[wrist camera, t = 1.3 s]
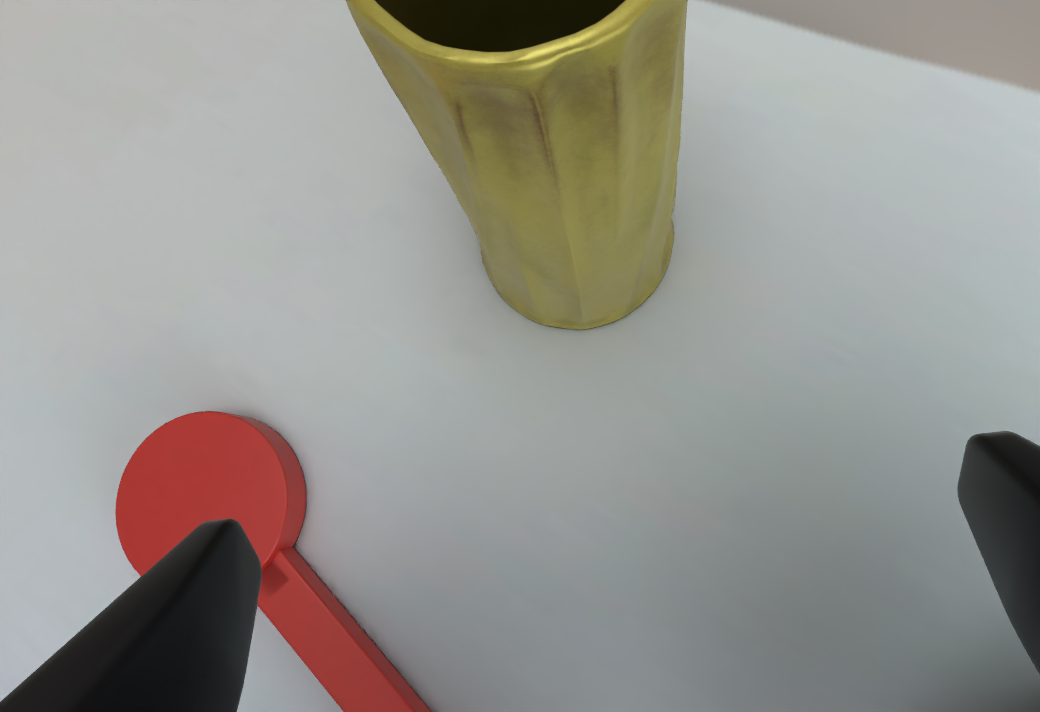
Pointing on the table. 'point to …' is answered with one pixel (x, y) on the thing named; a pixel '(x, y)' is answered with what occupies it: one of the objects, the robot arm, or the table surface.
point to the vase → (548, 137)
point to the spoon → (253, 542)
